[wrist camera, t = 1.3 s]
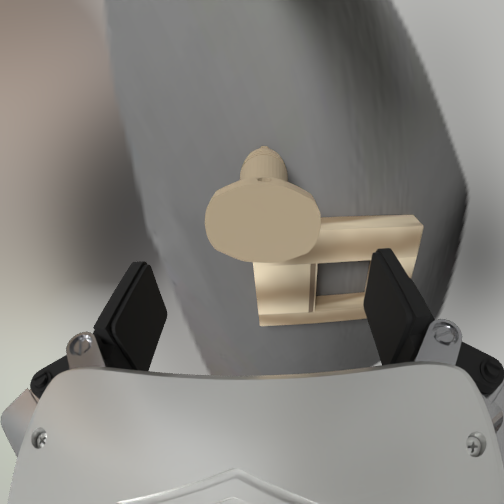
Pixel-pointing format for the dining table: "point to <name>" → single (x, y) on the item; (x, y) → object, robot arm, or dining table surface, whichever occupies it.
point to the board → (327, 251)
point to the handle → (263, 213)
